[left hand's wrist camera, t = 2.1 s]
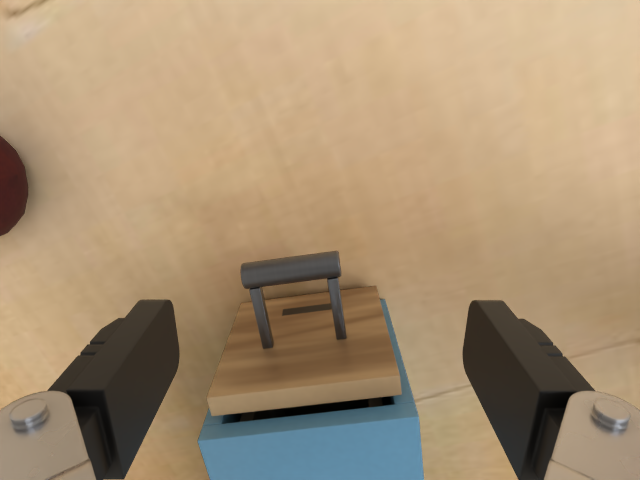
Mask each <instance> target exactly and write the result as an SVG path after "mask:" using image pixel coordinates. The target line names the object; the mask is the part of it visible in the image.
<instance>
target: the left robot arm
mask: <svg viewBox="0 0 640 480" xmlns="http://www.w3.org/2000/svg"><path fill="white" fill-rule="evenodd" d="M178 364H179V344H178V337H177V330H176V322H175V315H174V309H173V304H172V302H171V301H170V300H140V301H138V302H137V304H136V305H135V306H134V307H133V309H132V310H131V311H130V312H129V313H128V315H127V316H126V317H125V318H118V319H117V320H115V321H113V322H112V323H110V324H109V325H107V326H105V327H104V328H102V329H101V330H100V331H99V332H98V333H97V335H96V336H95V337H94V338H93V339H92V340H91V341H90V345H87V346H86V347H85V348H84V349H83V351H82V352H81V355H80V356H77V357H76V359H75V360H74V361H73V362H72V363H71V364H70V365H69V367H68V368H67V369H66V370H65V371H64V372H63V373H62V375H61V376H60V377H59V378H58V379H57V380H56V381H55V383H54V384H53V385H52V386H51V387H50V388H49V389H48V391H44V392H38V393H34V394H31V395H27V396H25V397H22V398H20V399H18V400H16V401H14V402H12V403H10V404H9V405H7V406H5V407H4V408H3V409H1V410H0V480H103V479H124V478H125V476H126V474H127V472H128V470H129V468H130V466H131V464H132V462H133V460H134V458H135V456H136V454H137V452H138V450H139V448H140V445H141V443H142V441H143V439H144V437H145V435H146V433H147V431H148V429H149V427H150V425H151V423H152V421H153V419H154V417H155V415H156V413H157V411H158V409H159V407H160V405H161V403H162V401H163V399H164V396H165V394H166V392H167V390H168V388H169V386H170V384H171V382H172V380H173V378H174V376H175V374H176V372H177V368H178ZM463 364H464V369H465V372H466V374H467V377H468V379H469V381H470V383H471V385H472V387H473V389H474V391H475V393H476V395H477V397H478V399H479V401H480V403H481V405H482V407H483V409H484V411H485V413H486V415H487V417H488V419H489V421H490V423H491V425H492V427H493V429H494V431H495V433H496V435H497V437H498V439H499V441H500V443H501V445H502V447H503V449H504V451H505V453H506V455H507V457H508V459H509V461H510V463H511V465H512V467H513V469H514V471H515V473H516V475H517V477H518V479H519V480H640V410H639V409H637V408H636V407H635V406H633V405H631V404H630V403H628V402H626V401H624V400H622V399H620V398H618V397H615V396H613V395H609V394H606V393H602V392H596V391H595V390H594V389H593V388H592V387H591V385H590V384H589V383H588V382H587V381H586V380H585V379H584V378H583V376H582V375H581V374H580V373H579V372H578V371H577V370H576V368H575V367H574V366H573V365H572V364H571V363H570V362H569V361H568V359H567V358H566V357H563V355H562V353H561V351H560V350H559V349H558V348H557V347H556V346H553V342H552V341H551V340H550V339H549V338H548V337H547V336H546V334H545V333H544V332H543V331H542V330H541V329H539V328H538V327H536V326H534V325H533V324H531V323H530V322H528V321H526V320H525V319H518V318H517V317H516V316H515V315H514V313H513V312H512V311H511V310H510V309H509V307H508V306H507V305H506V304H505V303H504V302H503V301H501V300H474V301H472V302H471V303H470V306H469V311H468V318H467V325H466V332H465V339H464V346H463Z"/></svg>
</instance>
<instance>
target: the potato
mask: <svg viewBox="0 0 640 480" xmlns="http://www.w3.org/2000/svg"><path fill="white" fill-rule="evenodd" d="M27 197H28V184H27V178H26V172H25V167H24V165H23V163H22V161H21V159H20V157H19V156H18V154H17V152H16V150H15V149H14V148H13V147H12V146H11V145H10V144H9V143H8V142H7V141H5V140H4V139H3V138H2V137H1V136H0V236H2V235H4V234H6V233H8V232H9V231H10V230H11V229H12V228H13V227H14V226H15V225H16V223H17V222H18V221H19V220H20V218H21V217H22V216H23V215H24V213H25V207H26V202H27Z"/></svg>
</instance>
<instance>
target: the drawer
mask: <svg viewBox="0 0 640 480" xmlns="http://www.w3.org/2000/svg"><path fill="white" fill-rule="evenodd" d="M340 276H341V267H340V259H339V253H338V251H332V252H324V253H317V254H309V255H302V256H294V257H287V258H279V259H272V260H264V261H257V262H249V263H243V264H242V265H241V280H242V284H243V286H244V288H246V289H249V288H250V295H251V299H252V302H245V303H241V305H240V307H239V310H238V313H237V316H236V318H235V321H234V324H233V327H232V329H231V332H230V335H229V338H228V340H227V343H226V346H225V348H224V351H223V354H222V357H221V359H220V362H219V365H218V368H217V370H216V373H215V376H214V379H213V381H212V384H211V387H210V390H209V392H208V395H207V402H208V405H209V408H210V412H211V415H212V416H219V415H228V414H236V413H242V415H241V419H240V422H243V421H252V420H261V419H270V418H279V417H288V416H297V415H306V414H315V413H324V412H333V411H342V410H350V409H359V408H368V407H377V406H383V400H382V397H387V396H395V395H401V394H402V391H401V381H400V374H399V370H398V366H397V363H396V359H395V355H394V351H393V347H392V344H391V340H390V336H389V332H388V329H387V325H386V321H385V317H384V314H383V310H382V306H381V302H380V298H379V295H378V291H377V287H376V286H370V287H363V288H355V289H347V290H340V286H339V279H338V277H340ZM326 278H327V282H328V288H329V292H323V293H316V294H308V295H300V296H292V297H284V298H277V299H269V300H265V299H264V294H263V290H262V287H264V286H272V285H279V284H287V283H295V282H302V281H310V280H318V279H326Z"/></svg>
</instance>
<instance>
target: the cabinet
mask: <svg viewBox="0 0 640 480" xmlns="http://www.w3.org/2000/svg"><path fill="white" fill-rule="evenodd" d="M380 302H381V306H382V310H383V314H384V317H385V321H386V325H387V329H388V332H389V336H390V340H391V344H392V347H393V351H394V355H395V359H396V363H397V366H398V370H399V374H400V381H401V391H402V394H401V395H395V396H387V397H382V400H383V406H377V407H368V408H359V409H350V410H342V411H333V412H324V413H315V414H306V415H297V416H288V417H279V418H270V419H261V420H252V421H243V422H240V419H241V415H242V413H236V414H228V415H219V416H212V415H211V412H210V408H209V410H208V412H207V415H206V418H205V421H204V424H203V427H202V430H201V433H200V436H199V438H198V444H199V447H200V450H201V453H202V456H203V460H204V463H205V466H206V469H207V472H208V475H209V478H210V480H424V475H423V462H422V450H421V437H420V425H419V416H418V412H417V409H416V405H415V402H414V398H413V395H412V391H411V388H410V384H409V381H408V377H407V374H406V371H405V367H404V364H403V360H402V357H401V353H400V350H399V346H398V343H397V339H396V336H395V332H394V329H393V325H392V322H391V319H390V315H389V312H388V308H387V305H386V301H385V299H381V300H380Z"/></svg>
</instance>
